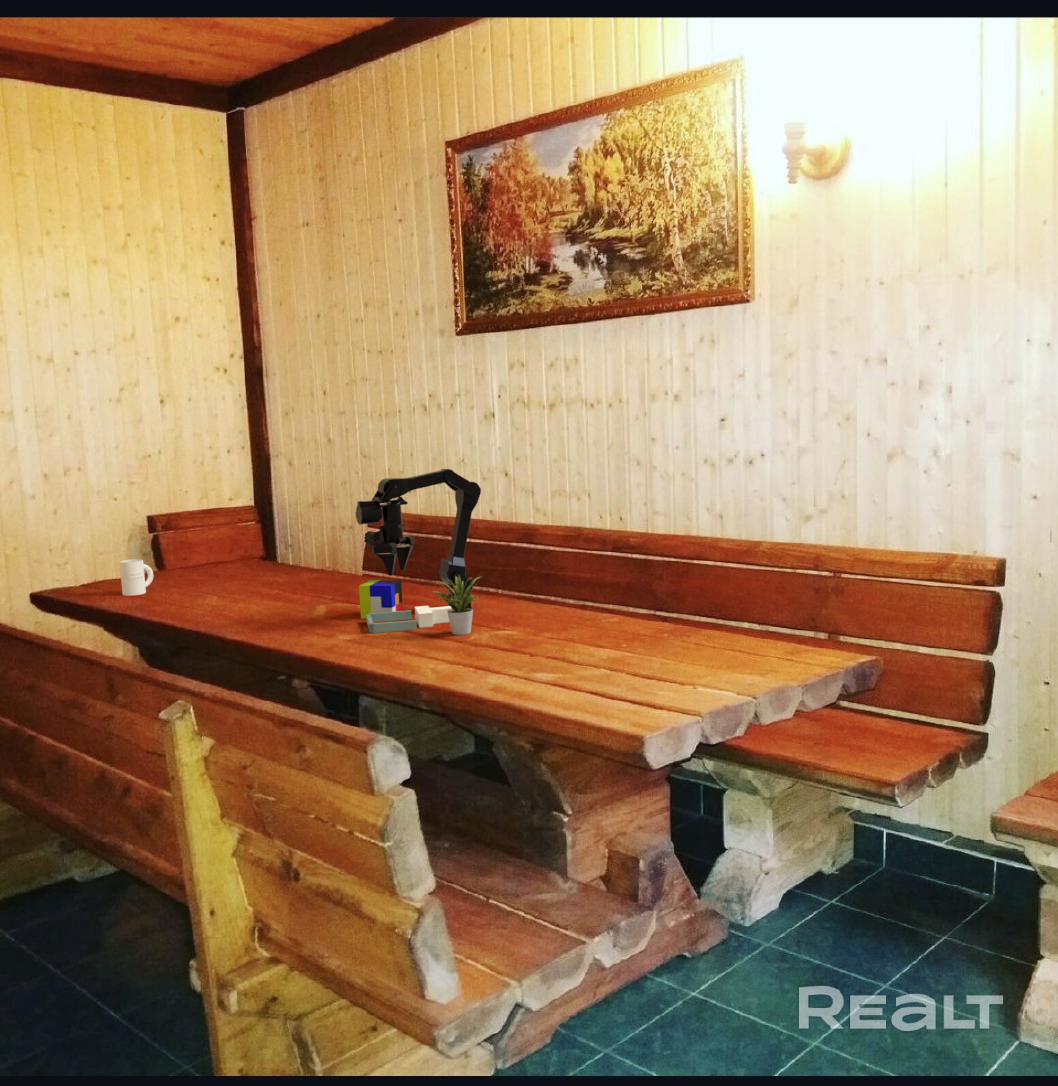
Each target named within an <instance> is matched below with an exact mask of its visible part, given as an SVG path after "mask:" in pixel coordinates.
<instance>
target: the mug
mask: <svg viewBox="0 0 1058 1086" xmlns="http://www.w3.org/2000/svg"><path fill="white" fill-rule="evenodd" d="M119 569H120V581H121V591H122V592H121V593H122V596H126V597H127V596H139V595H144V594H146V593H147V589H146V588H148V586H150V585H151V584H152V582H153V579H154V571H153V569H152V567H150V565H148V564H145V563H144V560H143V559H141V558H140V559H139V558H138V559H137V558H136V559H135V558H134V559H126V560H120V561H119ZM145 571H146V573H147V578H145ZM145 579H146V580H145Z"/></svg>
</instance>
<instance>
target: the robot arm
mask: <svg viewBox="0 0 1058 1086" xmlns="http://www.w3.org/2000/svg"><path fill="white" fill-rule="evenodd" d="M441 484H445V485H446V486H447V487H448V488H449V489H451V490H452V491H454V493H455V495H454V500H455V501H454V502H455V506H456V513H455V518H454V525H453V531H452V534H451V535H452V537H451V542H450V547H449V552H448V553H449V554H448V555H447V557H446V559H443V558H442V559H441V561H440V566H439V567H440V569H439V570H438V573H439V576H440V577H439V578H440V579H441V582H444V583H447V584H448V585H449V586H450V587H451V588H452V589H454V587H453V585H452V583H451V582H450V581H452V582H453V584H454V585H455V586H456V580H455V576H456V577H457V578H458V579H459V576H460V579H461V586H462V581H463V583H464V585H465V583H466V581H467V580H468V579H469V578H468V577H467V576H466V575H467V573H466V572H467V571H466V570H467V569H466V568H467V567H466V563H465V561H466V560H465V553H466V546H467V541H468V536H469V531H470V526H471V525H470V523H471V519H472V513H473V511H474V509H475V507H476V506H477V505H478V502H479V500H480V497H481V493H482V490H481V487H480V485H479V484H478V483H477V482H475V481H470V480H468V479H467V478H465V477H463V476H462V475H459V474H458V473H456V472H455V471H454V470H453V469H450V468H442V469H440V470H436V471H431V472H427V473H422V474H418V475H413V476H409V477H394V478H393V477H391V478H390V477H389V478H383V479H381V480H379V482H378V484H377V491H376V492H375V493H374V495H373V497H372V499H371V500H365V501H364V500H358V501H356V502H357V503H356V504H357V506H356V508H355V509H356V510H355V518H356V522H357V523H358V525H366V524H367V525H368V524H377V523H379V522H380V520H382V525H380V526H379V531H376V532H373V531H372V530H370V531H368V532H365V533H364V541H363V542H364V543H366V544H367V545H368V547H371V546H372V554H375V556H376V557H378V558H380V559H381V560H382V563H383V565H384V568H385V571H386V572H387V575H388V576H389V577H391V576H393V574H394V571H395V565H396V560H397V561H398V566H399V569H400V571H404V570H405V569H406V567H407V564H408V560H409V557H410V556H411V552H412V550H413V548H414V545H416V538H415V537H414V536H413V535H412V534H407V535H405V534H404V532H403V531H404V529H403V528H404V527H406V526H405V522H403V518H402V506H405V505H408V501H406V500H405V499H404V498H403V496H404V495H406V494H407V493H409V492H412V491H413V490H419V489H423V488H427V487H431V486H435V485H441ZM447 578H448V579H449V580H450V581H449V580H448V579H447ZM471 582H472V580H471V579H469V580H468V581H467V583H466V585H465V588H464V592H465V590H466V589H467V588H468V586H469V585H470V583H471ZM444 583H443V584H444ZM446 586H447V585H446ZM447 587H448V586H447ZM447 587H446V588H447ZM473 587H474V584H473V585H472V586H471V588H470V590H469V593H470V594H469V593H468V595H469V596H470V595H472V594H471V592H470V591H471V590H472V591H473ZM448 588H449V587H448ZM448 588H447V589H448ZM448 590H450V588H449V589H448ZM450 591H451V590H450ZM450 593H452V594H453V596H455V595H454V593H453V592H452V591H451V592H450ZM450 593H449V592H448V593H447V595H449V596H450V597H451V596H452V595H451V594H450ZM467 597H468V596H467ZM452 598H453V597H452ZM461 598H462V594H461ZM453 599H454V598H453ZM466 599H467V598H466ZM450 604H451V603H450ZM450 604H449V603H447V606H450V607H451V608H452V609H453V607H454V606H453V607H452V606H451V605H450ZM467 608H469V609H473V607H472V602H470V603H469V604H468V606H467Z"/></svg>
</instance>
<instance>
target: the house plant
mask: <svg viewBox="0 0 1058 1086" xmlns="http://www.w3.org/2000/svg"><path fill="white" fill-rule="evenodd" d="M482 577H483V576H478V577H476V578H474V576H473V577H470V578H468V580H471V579H473V580H471V583H470V585H469V586H468V588H467V589H466V590H465V592H464V588H465V585H466V583H467V581H468V580H467V581H466V583H465V585H464V583H463V581H462V586H461V579H460V576H459V579H458V578H457V577H456V576H455V580H456V586H455V585H454V584H453V582H452V581H450V580H449V579H448V578H447V579H448V580H449V581H450V582H451V583H452V585H453V587H454V589H452V588H451V587H450V586H449V585H448V584H447V583H444V582H443V581H440V580H437V582H439V584H438V585H441V586H442V587H443V588H444V589H445V590H446V591H447V592H448V593H447V594H449V593H450V592H451V591H452V592H453V593H454V595H455V596H453V594H452V593H450V594H451V595H452V596H451V597H450V596H449V595H447V594H446V593H443V592H441V591H436V590H432V591H431V593H434V594H437V596H439V597H440V599H438V600H437V602H439V601H445V602H446V603H447V604H448V603H449V604H450V603H451V604H450V605H451V606H452V607H453V606H454V607H453V609H451V610H448V611H447V612H448V617H449V622H448V623H449V625H450V630H451V634H452V635H458V636H460V635H461V636H462V635H468V634H470V633H471V632H472V624H473V623H472V622H473V614H474V609H473V608H472V609H469V608H467V606H468V604H469V603H470V602H471V603H472V602H473V601H477V600H479V597H478V595H476V597H475V595H472V594H471V595H470V596H469V595H468V593H469V590H470V588H471V586H472V585H473V587H472V590H470V593H471V592H472V591H473V589H474V588H475V587H476V585H474V584H475V582H476V581H477V580H478V579H480V578H482ZM447 586H448V587H449V588H448V587H447ZM449 589H450V590H451V591H450V590H449ZM470 593H469V594H470ZM461 594H462V598H461ZM467 596H468V597H467ZM452 597H453V598H454V599H453V598H452ZM466 598H467V599H466Z"/></svg>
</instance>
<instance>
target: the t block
mask: <svg viewBox="0 0 1058 1086" xmlns="http://www.w3.org/2000/svg"><path fill="white" fill-rule="evenodd" d="M451 609H452V608H451V607H450V606H448V605H446V606H436V607H430V606H429V605H420V606H414V614H415V615H414V616H415V620H416V621H417V626H418V628H422V629H423V628H432V627H434V624H436V625H437V624H445V623H447V624H448V623H450V622H449V617H448V612H447V611H448V610H451Z"/></svg>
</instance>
